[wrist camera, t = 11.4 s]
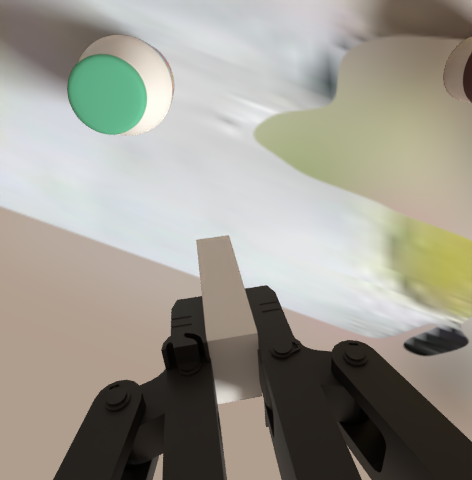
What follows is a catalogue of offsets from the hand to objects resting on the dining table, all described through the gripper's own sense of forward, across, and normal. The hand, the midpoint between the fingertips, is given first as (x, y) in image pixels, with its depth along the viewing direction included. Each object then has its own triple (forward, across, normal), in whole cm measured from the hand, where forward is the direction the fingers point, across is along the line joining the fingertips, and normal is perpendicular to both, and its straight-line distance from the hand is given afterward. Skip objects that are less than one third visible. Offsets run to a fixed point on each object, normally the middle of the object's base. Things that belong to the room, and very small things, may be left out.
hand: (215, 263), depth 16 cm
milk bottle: (+30, -5, +7) cm, 31 cm away
